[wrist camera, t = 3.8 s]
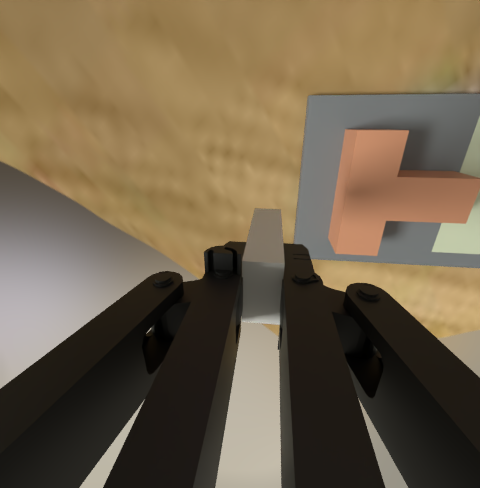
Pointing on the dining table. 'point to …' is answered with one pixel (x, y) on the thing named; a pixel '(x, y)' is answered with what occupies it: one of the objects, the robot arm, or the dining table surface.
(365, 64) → the dining table surface
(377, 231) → the t block
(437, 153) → the plate
